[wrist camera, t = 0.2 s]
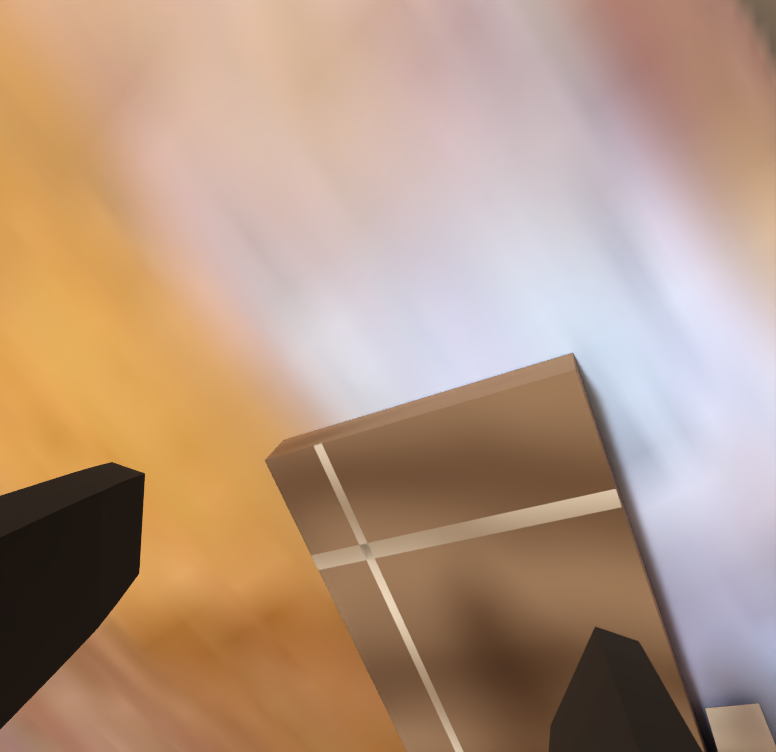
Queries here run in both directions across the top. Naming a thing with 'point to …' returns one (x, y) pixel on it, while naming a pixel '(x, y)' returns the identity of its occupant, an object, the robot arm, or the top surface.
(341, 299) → the top surface
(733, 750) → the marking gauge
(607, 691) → the robot arm
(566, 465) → the walnut board
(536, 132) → the top surface
